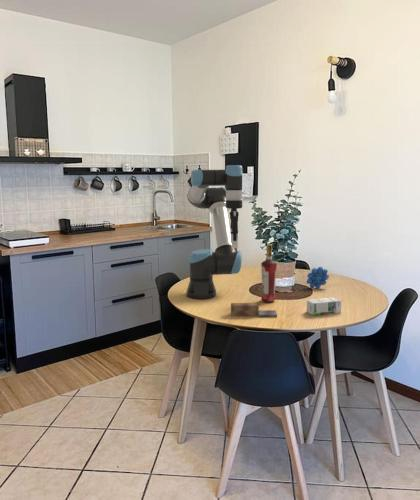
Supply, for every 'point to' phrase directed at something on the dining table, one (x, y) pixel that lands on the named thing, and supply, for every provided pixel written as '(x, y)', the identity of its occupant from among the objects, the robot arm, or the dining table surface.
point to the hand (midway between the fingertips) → (234, 245)
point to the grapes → (317, 277)
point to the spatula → (250, 310)
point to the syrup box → (324, 306)
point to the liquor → (268, 276)
